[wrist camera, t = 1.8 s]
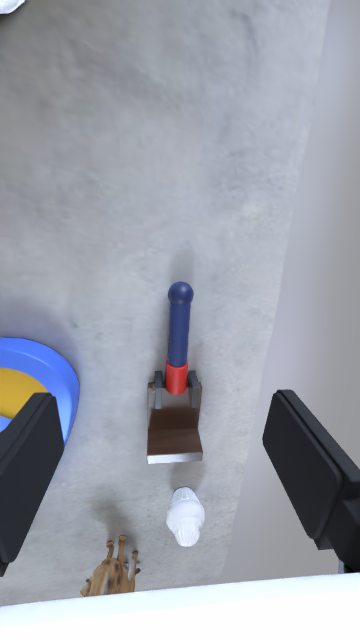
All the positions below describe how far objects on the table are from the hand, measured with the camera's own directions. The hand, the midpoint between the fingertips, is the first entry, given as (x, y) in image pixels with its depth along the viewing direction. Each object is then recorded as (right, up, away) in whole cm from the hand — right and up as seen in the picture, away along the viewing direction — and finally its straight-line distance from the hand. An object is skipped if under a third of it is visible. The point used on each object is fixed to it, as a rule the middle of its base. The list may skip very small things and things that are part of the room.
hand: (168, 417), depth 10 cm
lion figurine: (-11, -39, +33) cm, 52 cm away
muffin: (+1, -25, +29) cm, 38 cm away
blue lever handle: (0, +2, +17) cm, 18 cm away
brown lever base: (0, -7, +21) cm, 23 cm away
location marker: (-20, -9, +20) cm, 30 cm away
